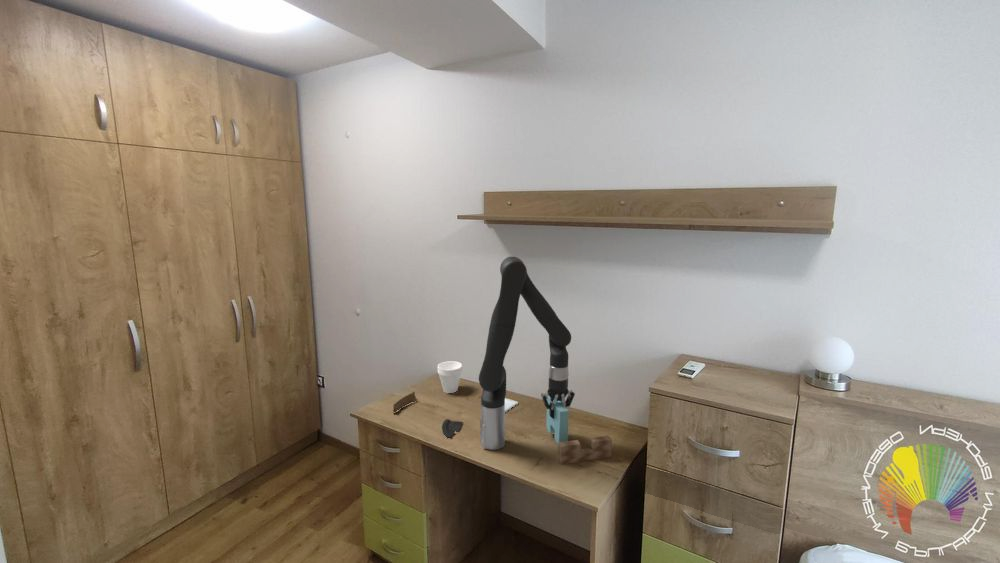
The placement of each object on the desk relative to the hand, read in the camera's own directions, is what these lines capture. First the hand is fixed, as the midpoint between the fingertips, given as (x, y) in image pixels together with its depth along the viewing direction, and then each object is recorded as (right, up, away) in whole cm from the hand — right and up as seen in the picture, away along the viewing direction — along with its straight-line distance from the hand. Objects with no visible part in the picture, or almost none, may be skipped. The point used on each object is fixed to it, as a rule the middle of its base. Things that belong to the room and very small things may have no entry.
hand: (557, 416), depth 175 cm
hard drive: (-21, -6, +32) cm, 39 cm away
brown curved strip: (-67, -6, +32) cm, 74 cm away
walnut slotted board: (+9, -13, -9) cm, 18 cm away
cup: (-48, -2, +49) cm, 68 cm away
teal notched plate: (0, -8, +2) cm, 8 cm away
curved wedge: (-43, -10, +13) cm, 46 cm away
